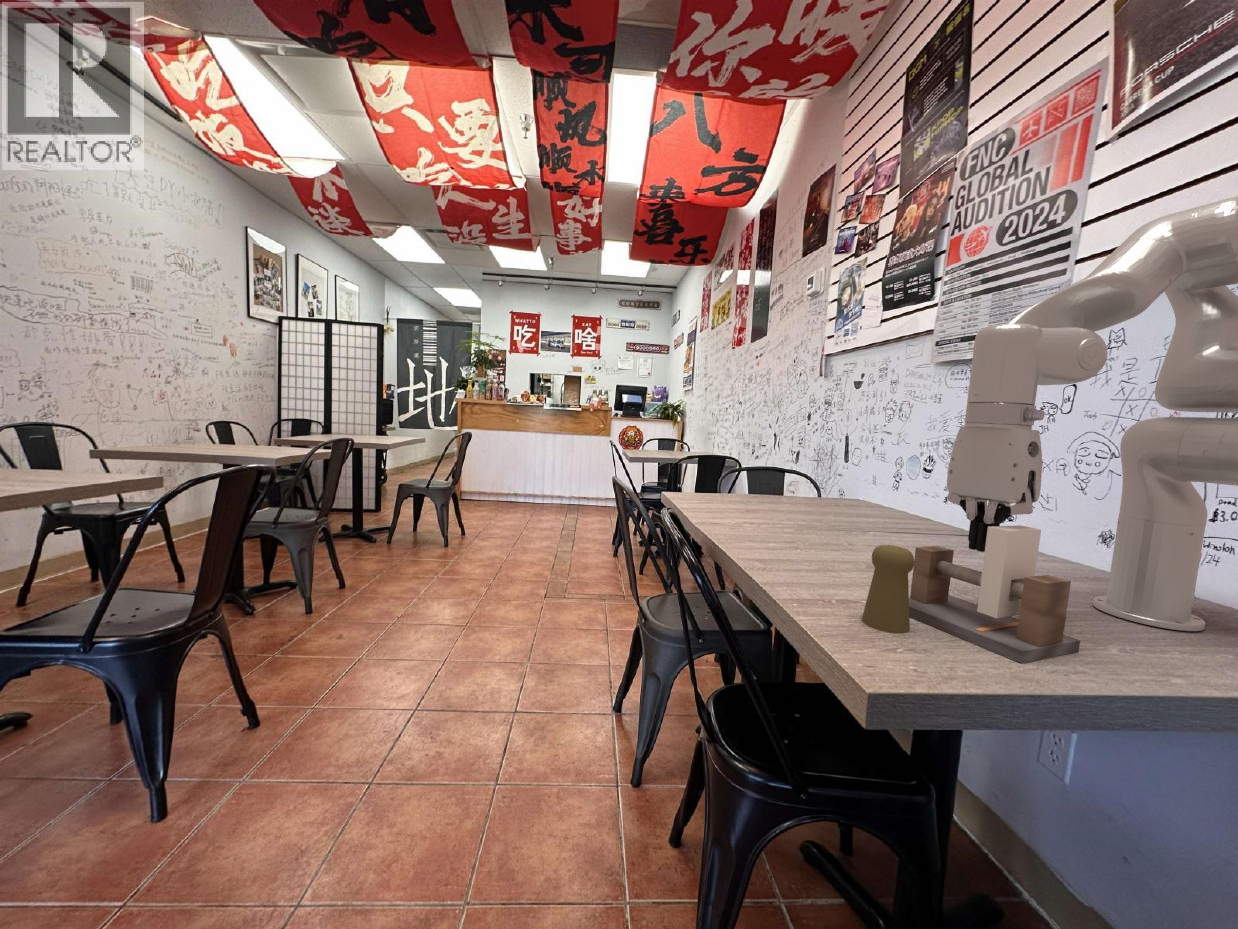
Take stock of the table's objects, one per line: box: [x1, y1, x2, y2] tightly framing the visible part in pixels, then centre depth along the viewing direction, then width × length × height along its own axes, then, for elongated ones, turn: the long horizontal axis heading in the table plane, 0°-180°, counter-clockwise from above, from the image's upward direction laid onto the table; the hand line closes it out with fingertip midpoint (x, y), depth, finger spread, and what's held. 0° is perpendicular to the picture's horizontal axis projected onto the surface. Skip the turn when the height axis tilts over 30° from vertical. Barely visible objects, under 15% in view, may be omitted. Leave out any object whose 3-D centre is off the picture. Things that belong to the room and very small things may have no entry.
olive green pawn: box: [861, 544, 915, 634], centre depth 72 cm, size 6×6×11 cm
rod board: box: [909, 545, 1081, 664], centre depth 73 cm, size 12×18×10 cm, turn 23°
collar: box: [977, 525, 1042, 618], centre depth 70 cm, size 7×2×12 cm, turn 113°
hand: (981, 549), depth 73 cm, fingers closed
